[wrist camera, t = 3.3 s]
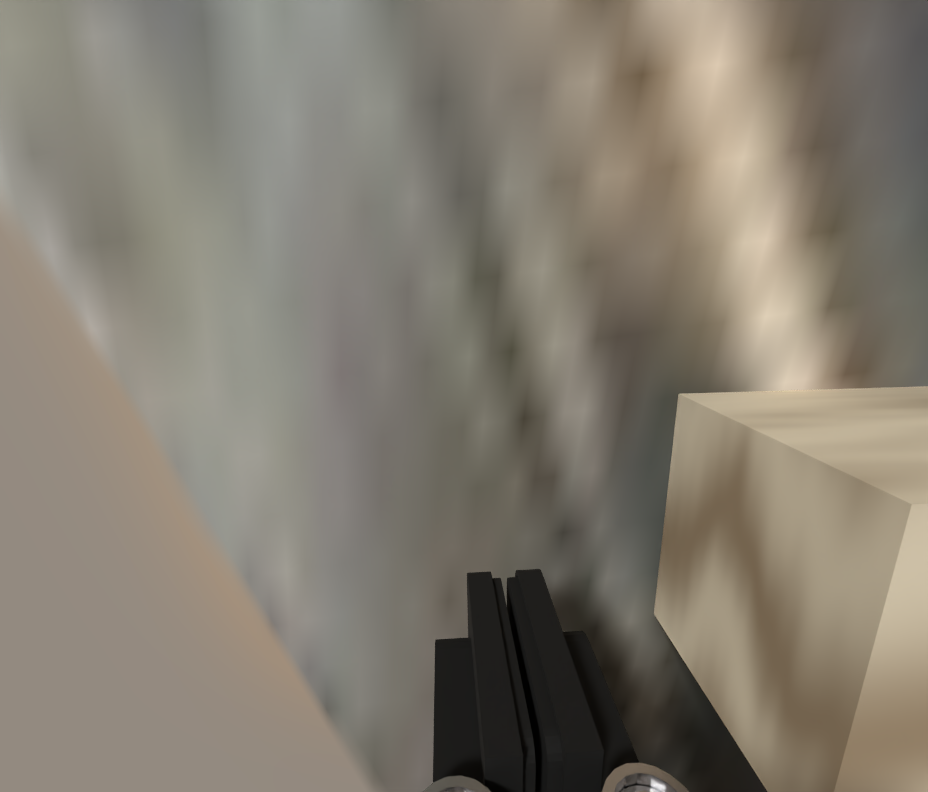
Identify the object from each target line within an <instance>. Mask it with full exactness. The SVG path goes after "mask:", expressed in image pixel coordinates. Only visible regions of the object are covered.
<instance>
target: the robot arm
mask: <svg viewBox="0 0 928 792" xmlns="http://www.w3.org/2000/svg"><path fill="white" fill-rule="evenodd" d="M467 599H468V638H456V639H439V640H436V641H435V691H434V757H433V783H432V784H431V785H430V786H428V787H427V788H426V789H425V790H424V791H423V792H689V791H688V790H687V789H686V787H684V786H683V785H682V784H681V783H680V782H679V781H677V780H676V779H675V778H674V777H673V776H672V775H670V774H668V773H667V772H665V771H663V770H661V769H659V768H657V767H655V766H652V765H648V764H644V763H639V761H638V759H637V756H636V754H635V751H634V749H633V747H632V744H631V742H630V739H629V737H628V735H627V732H626V730H625V727H624V725H623V722H622V720H621V718H620V715H619V713H618V710H617V708H616V706H615V703H614V701H613V698H612V696H611V693H610V691H609V689H608V686H607V684H606V681H605V679H604V677H603V674H602V672H601V669H600V667H599V665H598V662H597V660H596V657H595V655H594V652H593V650H592V648H591V645H590V643H589V640H588V638H587V636H586V634H585V633H584V632H583V631H575V632H562V629H561V626H560V623H559V620H558V617H557V615H556V612H555V609H554V606H553V603H552V600H551V597H550V595H549V592H548V589H547V586H546V583H545V580H544V577H543V575H542V572H541V570H540V569H533V570H516V573H515V577H510V578H507V607H506V602H505V597H504V592H503V587H502V582H501V579H500V578H492V575H491V572H476V573H467Z"/></svg>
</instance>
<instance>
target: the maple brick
mask: <svg viewBox="0 0 928 792" xmlns="http://www.w3.org/2000/svg"><path fill="white" fill-rule="evenodd" d="M654 615H655V616H656V618H657V620H658V621H659V623H660V624H661V626H662V627H663V629H664V630H665V632H666V634H667V635H668V637H669V638H670V640H671V641H672V643H673V645H674V646H675V648H676V649H677V651H678V652H679V654H680V655H681V657H682V659H683V660H684V662H685V663H686V665H687V666H688V668H689V670H690V671H691V673H692V674H693V676H694V677H695V679H696V681H697V682H698V684H699V685H700V687H701V688H702V690H703V691H704V693H705V695H706V696H707V698H708V699H709V701H710V702H711V704H712V706H713V707H714V709H715V710H716V712H717V713H718V715H719V716H720V718H721V720H722V721H723V723H724V724H725V726H726V727H727V729H728V731H729V732H730V734H731V735H732V737H733V738H734V740H735V742H736V743H737V745H738V746H739V748H740V749H741V751H742V752H743V754H744V756H745V757H746V759H747V760H748V762H749V763H750V765H751V767H752V768H753V770H754V771H755V773H756V774H757V776H758V777H759V779H760V781H761V782H762V784H763V785H764V787H765V788H766V790H767V792H928V386H926V387H893V388H859V389H825V390H792V391H758V392H724V393H690V394H679V395H678V404H677V413H676V422H675V431H674V440H673V449H672V458H671V467H670V476H669V485H668V493H667V502H666V511H665V520H664V529H663V538H662V547H661V556H660V565H659V574H658V583H657V592H656V600H655V609H654Z"/></svg>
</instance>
